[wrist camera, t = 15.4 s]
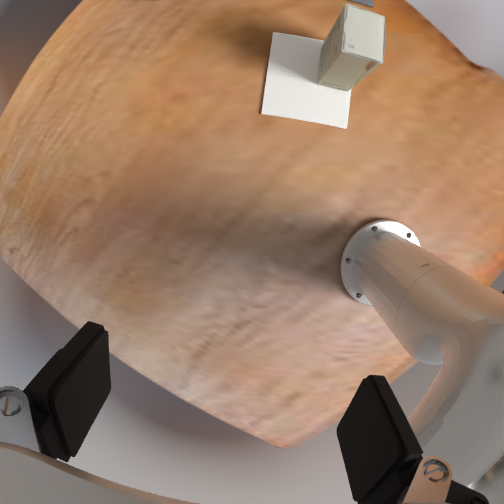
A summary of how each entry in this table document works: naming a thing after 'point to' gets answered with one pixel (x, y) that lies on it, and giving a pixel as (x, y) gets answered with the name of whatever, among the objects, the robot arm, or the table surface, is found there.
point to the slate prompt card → (364, 2)
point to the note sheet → (301, 84)
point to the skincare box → (352, 48)
